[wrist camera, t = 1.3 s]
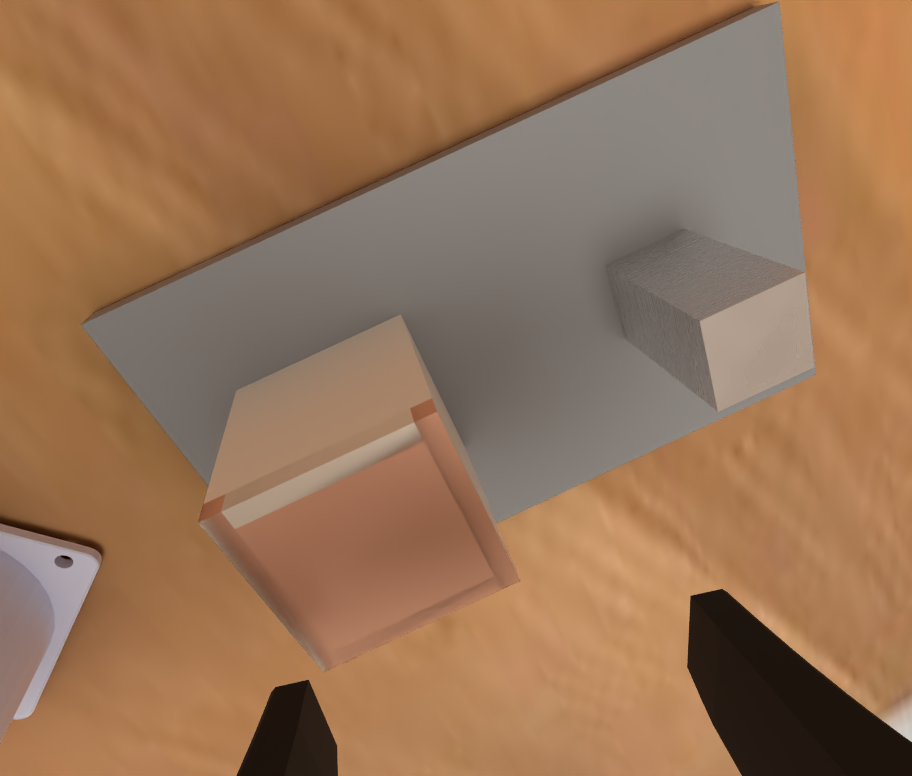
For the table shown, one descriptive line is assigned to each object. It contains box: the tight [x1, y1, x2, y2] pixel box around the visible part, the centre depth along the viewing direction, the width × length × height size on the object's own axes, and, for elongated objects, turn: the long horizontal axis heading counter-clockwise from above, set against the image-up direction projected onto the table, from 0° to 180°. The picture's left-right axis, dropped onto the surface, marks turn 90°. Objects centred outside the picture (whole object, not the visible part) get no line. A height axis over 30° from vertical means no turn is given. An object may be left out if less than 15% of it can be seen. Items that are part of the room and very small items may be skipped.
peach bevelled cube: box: [198, 314, 520, 672], centre depth 16 cm, size 5×5×6 cm
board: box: [81, 2, 816, 523], centre depth 19 cm, size 20×12×1 cm, turn 112°
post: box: [605, 229, 814, 412], centre depth 16 cm, size 3×3×6 cm
